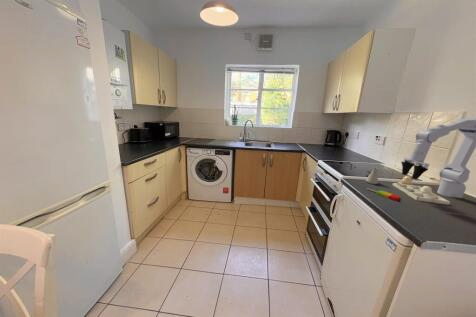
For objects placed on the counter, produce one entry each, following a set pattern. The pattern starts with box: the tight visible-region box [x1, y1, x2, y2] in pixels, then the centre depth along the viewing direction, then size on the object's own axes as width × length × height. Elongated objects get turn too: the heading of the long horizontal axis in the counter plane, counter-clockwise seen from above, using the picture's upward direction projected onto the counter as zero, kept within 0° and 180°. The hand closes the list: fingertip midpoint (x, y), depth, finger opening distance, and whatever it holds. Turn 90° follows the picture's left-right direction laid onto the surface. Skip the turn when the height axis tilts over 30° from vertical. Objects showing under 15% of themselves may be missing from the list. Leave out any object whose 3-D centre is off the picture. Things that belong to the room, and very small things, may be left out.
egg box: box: [392, 182, 451, 206], centre depth 104 cm, size 14×21×2 cm
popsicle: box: [366, 188, 401, 202], centre depth 101 cm, size 6×15×2 cm, turn 34°
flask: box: [365, 166, 380, 185], centre depth 118 cm, size 7×7×10 cm
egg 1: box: [401, 175, 413, 185], centre depth 119 cm, size 4×4×5 cm
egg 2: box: [420, 185, 433, 195], centre depth 103 cm, size 4×4×5 cm
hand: (409, 176), depth 101 cm, fingers open, 7 cm apart
